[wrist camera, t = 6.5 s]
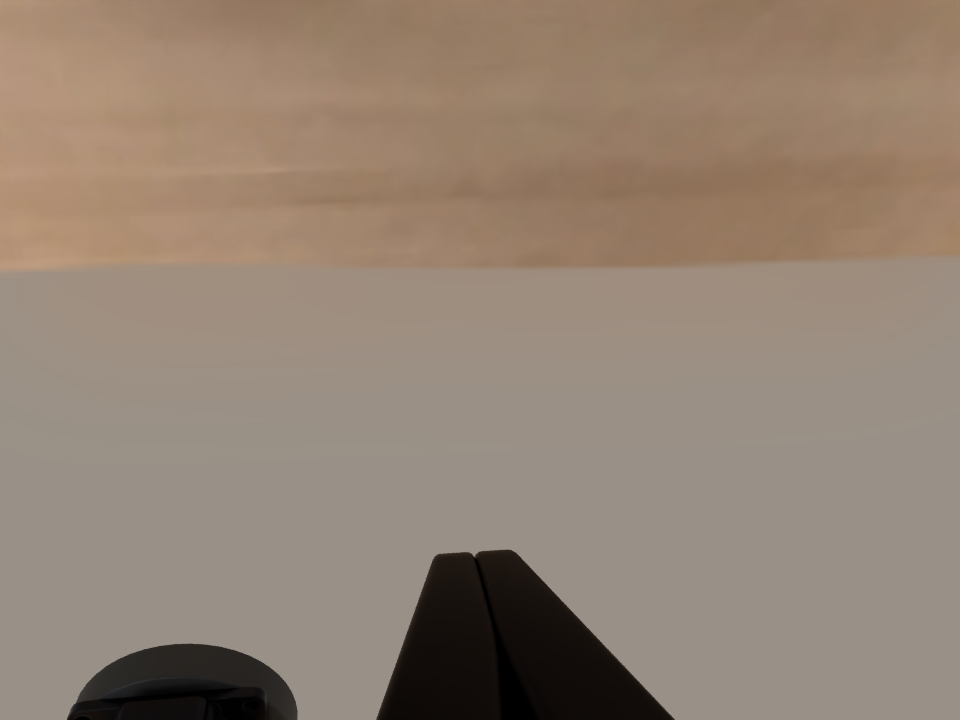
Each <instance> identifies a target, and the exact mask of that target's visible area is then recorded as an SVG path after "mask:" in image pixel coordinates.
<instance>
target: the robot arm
mask: <svg viewBox="0 0 960 720" xmlns="http://www.w3.org/2000/svg"><path fill="white" fill-rule="evenodd" d="M67 720H270V717H269V708H268V699H267V694H266V691H264V690H263V689H262V688H259V687H252V686H251V687H240V688H228V689H217V690H205V691H194V692H182V693H171V694H159V695H148V696H136V697H125V698H113V699H102V700H90V701H82V702H78V703H76V704H74V705H73V707H72V708H71V710H70V713H69V715H68V718H67ZM376 720H675V719H674V718H673V717H672V716H671V715H670V714H669V713H668V712H667V711H666V710H665V709H664V708H663V707H662V706H661V705H660V704H659V703H658V701H657V700H656V699H655V698H654V697H653V696H652V695H651V694H650V693H649V692H648V691H647V690H646V689H645V688H644V687H643V686H642V685H641V684H640V683H639V681H637V679H636V678H635V677H634V676H633V675H632V674H631V673H630V672H629V671H628V670H627V669H626V668H625V667H624V666H623V665H622V664H621V663H620V662H619V661H618V659H617V658H616V657H615V656H614V655H613V654H612V653H611V652H610V651H609V650H608V649H607V648H606V647H605V646H604V645H603V644H602V643H601V642H600V640H599V639H597V637H596V636H595V635H594V634H593V633H592V632H591V631H590V630H589V629H588V628H587V627H586V626H585V625H584V624H583V623H582V622H581V621H580V619H579V618H578V617H577V616H576V615H575V614H574V613H573V612H572V611H571V610H570V609H569V608H568V607H567V606H566V605H565V604H564V603H563V602H562V601H561V600H560V598H559V597H558V596H557V595H556V594H555V593H554V592H553V591H552V590H551V589H550V588H549V587H548V586H547V585H546V584H545V583H544V582H543V581H542V580H541V578H540V577H539V576H538V575H537V574H536V573H535V572H534V571H533V570H532V569H531V568H530V567H529V566H528V565H527V564H526V563H525V562H524V561H523V560H522V559H521V557H520V556H519V555H518V554H517V553H515V552H513V551H512V550H494V551H481V552H478V553H477V554H476V555H475V557H474V556H473V555H472V554H471V553H469V552H462V553H447V554H438V555H437V556H435V557H434V559H433V561H432V564H431V566H430V569H429V572H428V575H427V578H426V581H425V583H424V587H423V589H422V592H421V595H420V598H419V600H418V604H417V606H416V609H415V612H414V615H413V618H412V620H411V623H410V626H409V629H408V631H407V634H406V637H405V640H404V643H403V646H402V648H401V651H400V654H399V657H398V660H397V663H396V665H395V668H394V671H393V674H392V677H391V679H390V683H389V685H388V688H387V691H386V694H385V696H384V699H383V702H382V705H381V708H380V711H379V713H378V716H377V719H376Z"/></svg>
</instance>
